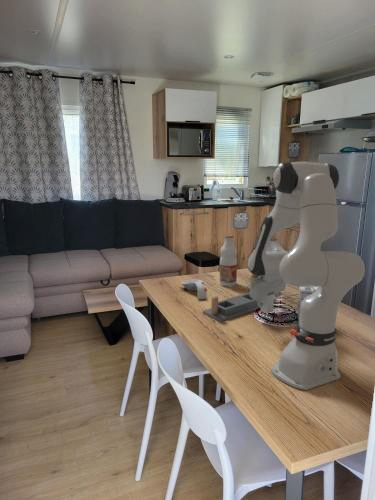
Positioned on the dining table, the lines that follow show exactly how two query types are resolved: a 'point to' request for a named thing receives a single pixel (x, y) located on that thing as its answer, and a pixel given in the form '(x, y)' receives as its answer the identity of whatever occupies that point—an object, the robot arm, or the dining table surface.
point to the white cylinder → (267, 303)
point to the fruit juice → (228, 262)
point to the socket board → (231, 307)
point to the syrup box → (303, 296)
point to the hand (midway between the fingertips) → (267, 303)
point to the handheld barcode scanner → (195, 287)
